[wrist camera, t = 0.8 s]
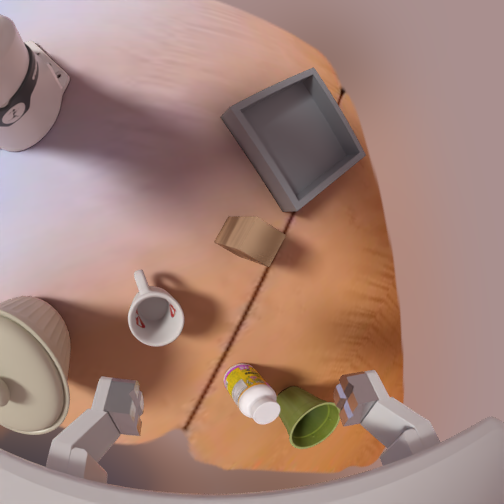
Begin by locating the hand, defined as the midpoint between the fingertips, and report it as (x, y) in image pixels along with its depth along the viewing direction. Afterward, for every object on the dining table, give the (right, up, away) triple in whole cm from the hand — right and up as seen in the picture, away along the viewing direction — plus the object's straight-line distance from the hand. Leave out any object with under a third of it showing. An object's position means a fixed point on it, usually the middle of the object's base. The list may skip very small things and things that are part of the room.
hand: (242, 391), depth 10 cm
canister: (-35, -8, +27) cm, 45 cm away
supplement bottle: (-2, -18, +42) cm, 46 cm away
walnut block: (-3, +8, +38) cm, 39 cm away
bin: (+8, +27, +41) cm, 49 cm away
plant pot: (+8, -27, +48) cm, 55 cm away
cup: (-16, -2, +34) cm, 38 cm away
